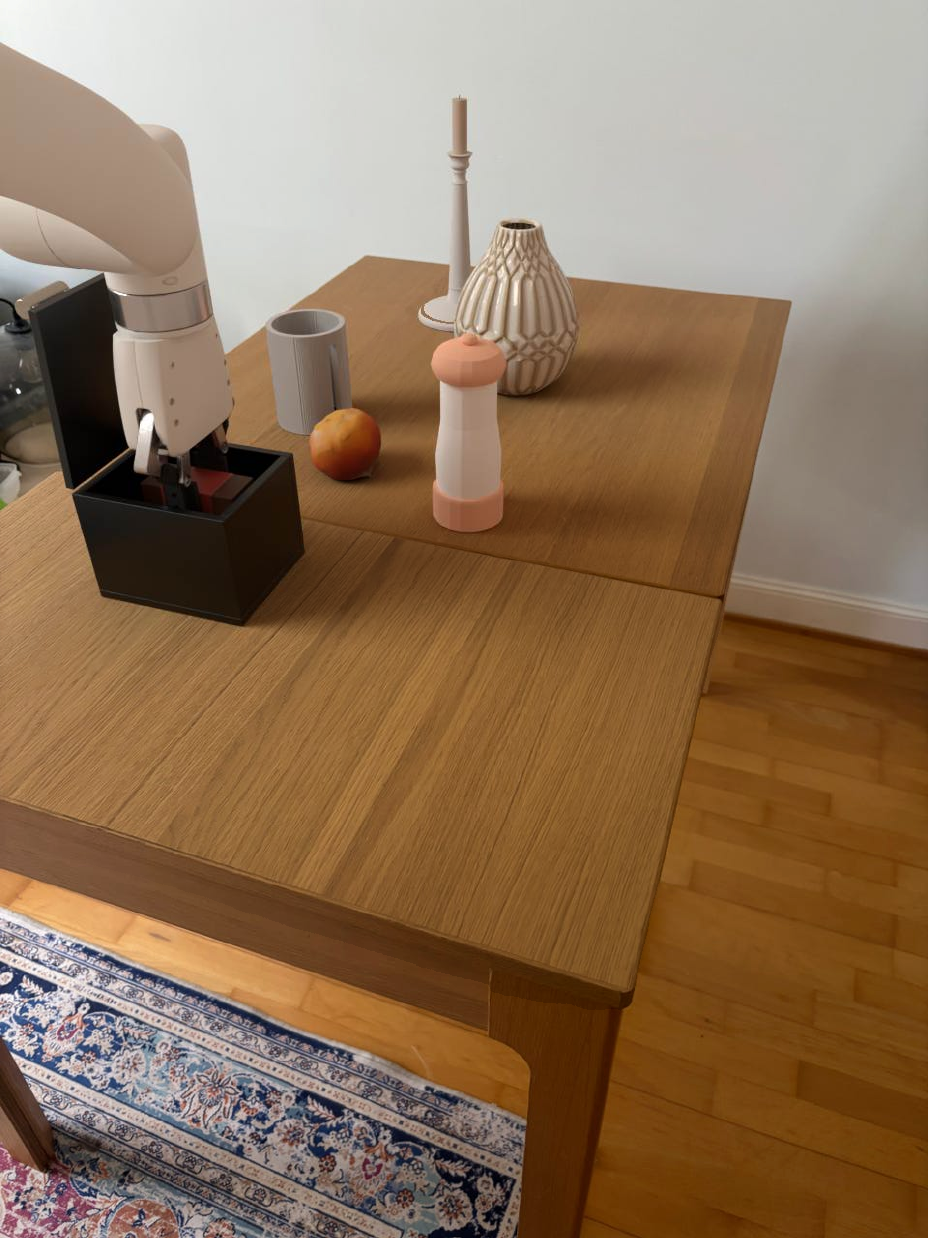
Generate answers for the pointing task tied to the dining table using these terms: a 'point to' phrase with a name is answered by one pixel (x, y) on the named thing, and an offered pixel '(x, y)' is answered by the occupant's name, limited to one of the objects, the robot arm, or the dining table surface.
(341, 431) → the fruit
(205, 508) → the chocolate bar
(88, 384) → the black lid
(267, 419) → the dining table surface
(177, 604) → the trash bin
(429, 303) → the candlestick
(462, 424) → the salt shaker
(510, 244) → the vase
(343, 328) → the cup
